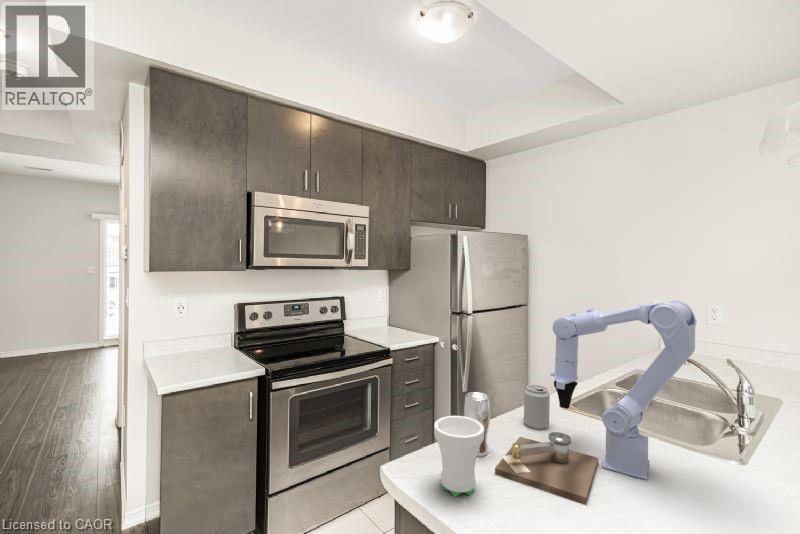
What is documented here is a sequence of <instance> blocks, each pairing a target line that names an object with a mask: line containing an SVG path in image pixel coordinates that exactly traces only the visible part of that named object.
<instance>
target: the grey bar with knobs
mask: <svg viewBox="0 0 800 534" xmlns="http://www.w3.org/2000/svg"><path fill="white" fill-rule="evenodd" d="M548 440H549V441H546V442H545V441H544V442H542V443H535V444H526V445H520V444H518V443H515V442H514V443H512V445H511V447H512V457H513V458H514V459H520V458H521V456H528V455H536V454H545V453H550V459H551V460H553V461H555V462H557V463H568V462H569V450H570V444H571V443H572V437H571V436H570V435H569V434H567V433H564V432H558V431H553V432H550V433H548Z"/></svg>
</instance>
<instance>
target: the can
mask: <svg viewBox="0 0 800 534" xmlns="http://www.w3.org/2000/svg"><path fill="white" fill-rule="evenodd" d="M523 394H524V395H523V396H524V397H523V398H524V399H523V421H524V423H525V425H526V426H527V427H529V428H531V429H535V430H545V429H546V428H547V427H549V426H550V407H551V406H550V403H551V402H550V399H551V397H550V393H549V391H548V388H547V387H546V386H544V385H538V384H529V385H527V386H526V389H525V390H524V392H523Z"/></svg>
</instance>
